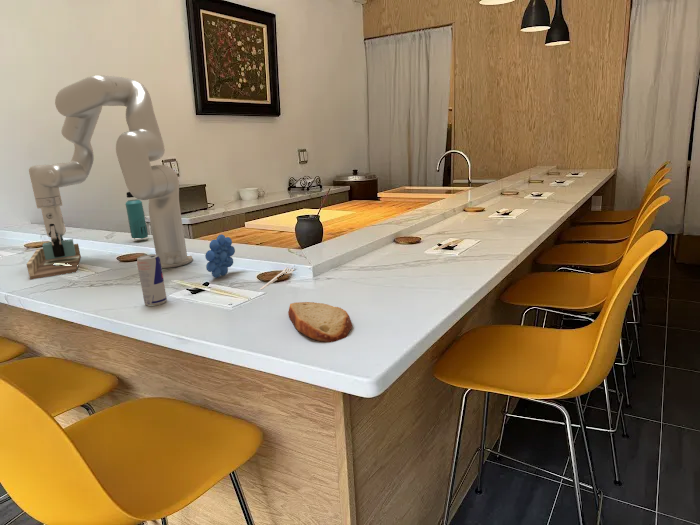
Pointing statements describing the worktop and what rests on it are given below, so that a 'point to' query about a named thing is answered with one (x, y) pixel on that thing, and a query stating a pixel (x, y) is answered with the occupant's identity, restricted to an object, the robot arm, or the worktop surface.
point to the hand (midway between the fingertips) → (60, 254)
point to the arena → (51, 264)
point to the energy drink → (151, 279)
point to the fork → (277, 276)
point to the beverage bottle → (136, 218)
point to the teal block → (67, 246)
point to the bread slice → (320, 321)
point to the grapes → (220, 256)
